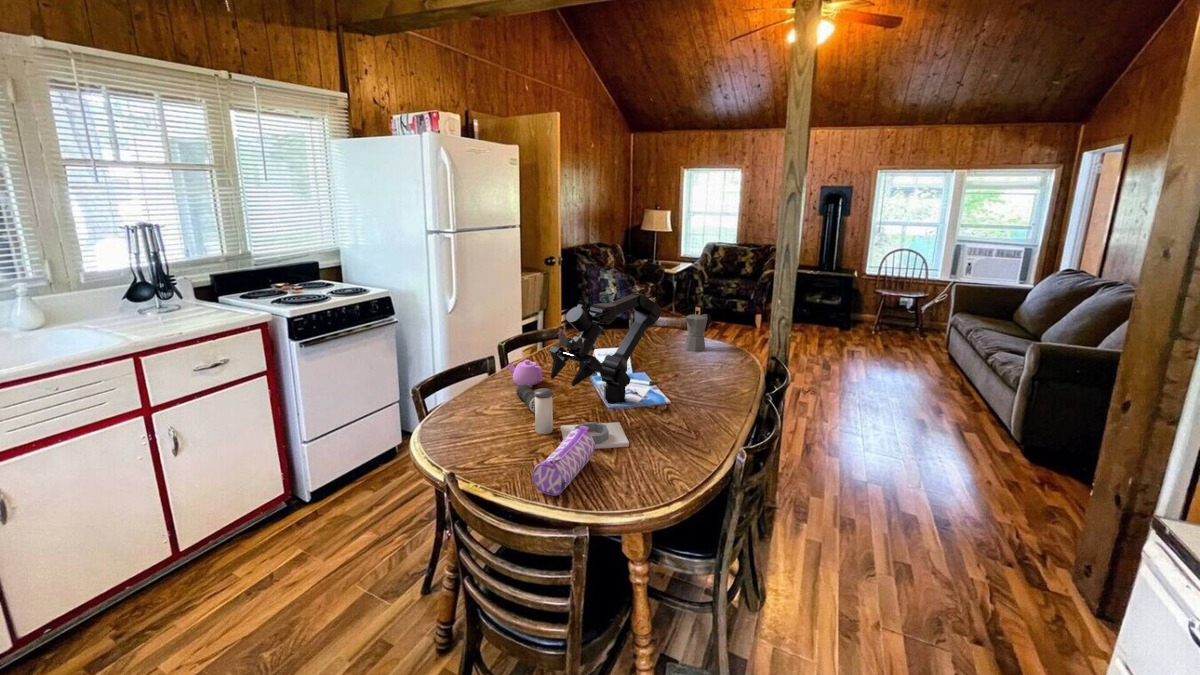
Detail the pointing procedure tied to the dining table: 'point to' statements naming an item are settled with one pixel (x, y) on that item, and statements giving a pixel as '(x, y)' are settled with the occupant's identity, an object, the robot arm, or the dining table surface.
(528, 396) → the flashlight
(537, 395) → the canister
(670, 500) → the dining table surface
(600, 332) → the robot arm
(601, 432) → the socket plate
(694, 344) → the coffeepot
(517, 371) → the teapot
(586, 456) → the pencil case
